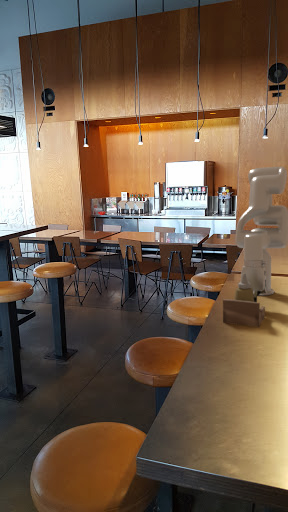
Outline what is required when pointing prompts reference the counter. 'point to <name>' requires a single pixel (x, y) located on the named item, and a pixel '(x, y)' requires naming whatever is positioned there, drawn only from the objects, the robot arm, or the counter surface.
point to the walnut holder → (243, 312)
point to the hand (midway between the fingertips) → (252, 305)
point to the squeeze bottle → (244, 290)
